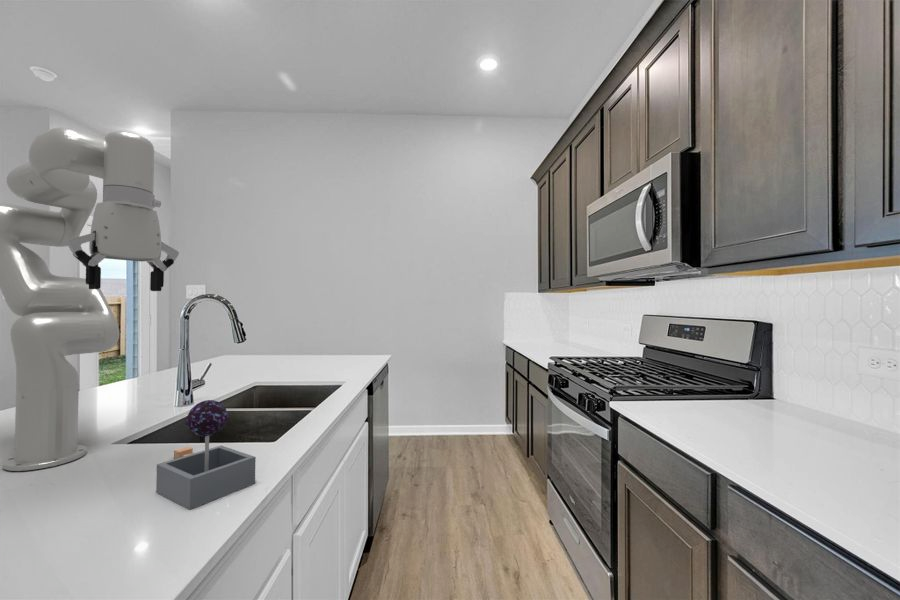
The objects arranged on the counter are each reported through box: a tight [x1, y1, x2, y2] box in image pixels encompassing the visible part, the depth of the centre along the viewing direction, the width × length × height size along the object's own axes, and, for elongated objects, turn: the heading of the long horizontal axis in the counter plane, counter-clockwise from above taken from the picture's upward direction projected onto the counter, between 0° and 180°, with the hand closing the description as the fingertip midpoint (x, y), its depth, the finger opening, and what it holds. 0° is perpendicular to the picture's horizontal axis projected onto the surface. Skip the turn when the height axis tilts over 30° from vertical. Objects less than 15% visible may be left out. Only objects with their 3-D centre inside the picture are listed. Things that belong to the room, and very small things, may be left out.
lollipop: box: [184, 399, 230, 472], centre depth 74 cm, size 7×7×15 cm
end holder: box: [155, 445, 256, 511], centre depth 74 cm, size 12×12×5 cm
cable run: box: [173, 446, 195, 459], centre depth 83 cm, size 16×4×2 cm, turn 43°
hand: (126, 290), depth 76 cm, fingers open, 9 cm apart
